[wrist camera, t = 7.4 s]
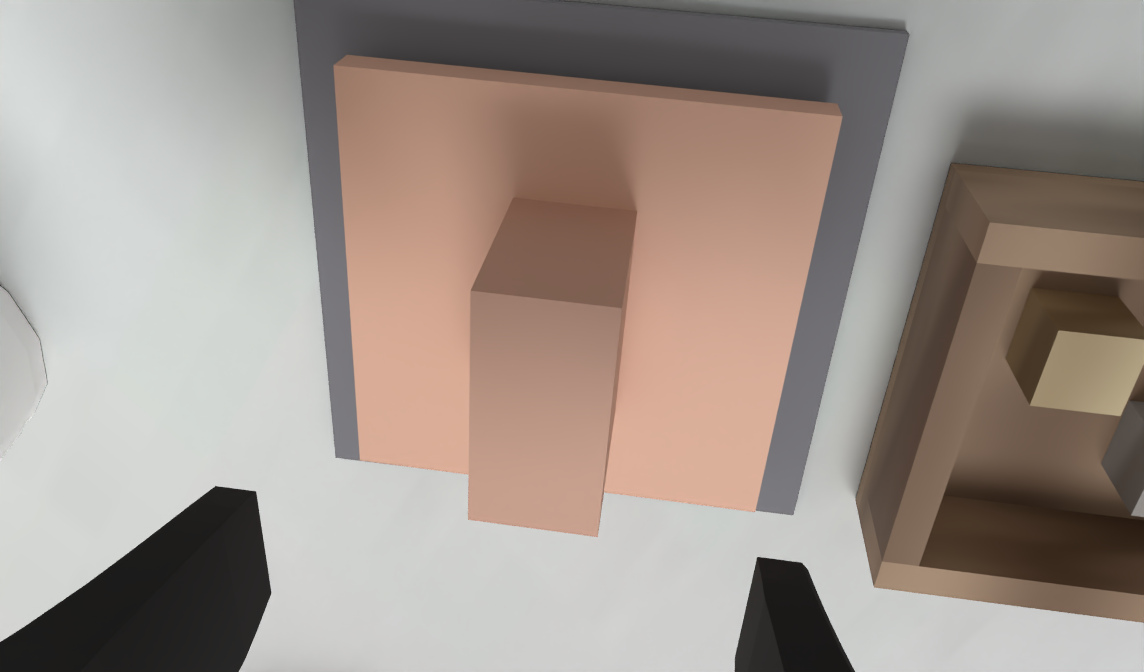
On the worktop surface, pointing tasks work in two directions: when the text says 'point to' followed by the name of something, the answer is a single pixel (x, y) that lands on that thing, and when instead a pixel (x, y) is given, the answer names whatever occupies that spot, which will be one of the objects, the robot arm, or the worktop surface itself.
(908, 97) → the worktop surface
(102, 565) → the worktop surface
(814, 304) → the mat
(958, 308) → the box
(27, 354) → the foam cup
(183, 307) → the worktop surface
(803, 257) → the lid
